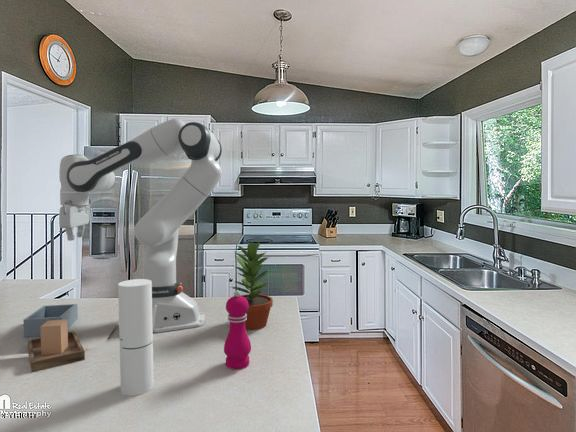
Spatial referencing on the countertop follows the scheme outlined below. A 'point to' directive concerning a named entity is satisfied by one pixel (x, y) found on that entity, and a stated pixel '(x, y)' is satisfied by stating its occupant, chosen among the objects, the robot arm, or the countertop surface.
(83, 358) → the tray
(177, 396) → the countertop surface
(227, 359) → the pepper mill
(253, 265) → the potted plant
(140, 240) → the robot arm
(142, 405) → the countertop surface
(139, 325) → the cylindrical container
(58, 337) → the block
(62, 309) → the blue-grey storage bin
